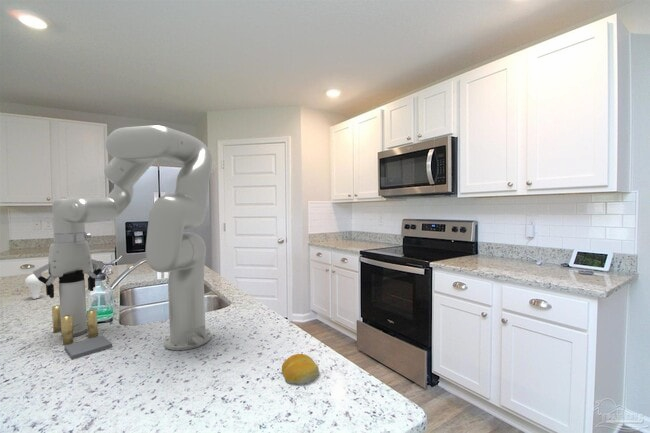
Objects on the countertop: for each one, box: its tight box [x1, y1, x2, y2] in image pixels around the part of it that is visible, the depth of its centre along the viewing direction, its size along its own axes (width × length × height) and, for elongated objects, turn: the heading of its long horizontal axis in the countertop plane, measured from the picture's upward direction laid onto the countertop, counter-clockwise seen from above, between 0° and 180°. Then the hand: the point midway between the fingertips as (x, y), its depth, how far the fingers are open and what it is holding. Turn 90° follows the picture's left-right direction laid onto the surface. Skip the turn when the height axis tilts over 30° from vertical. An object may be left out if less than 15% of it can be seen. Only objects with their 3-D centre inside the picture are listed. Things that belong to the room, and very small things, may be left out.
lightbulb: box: [24, 273, 44, 300], centre depth 136 cm, size 6×6×11 cm
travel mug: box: [58, 270, 88, 338], centre depth 98 cm, size 6×7×20 cm
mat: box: [63, 334, 113, 360], centre depth 88 cm, size 9×9×1 cm
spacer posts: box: [51, 304, 99, 346], centre depth 98 cm, size 16×8×8 cm, turn 49°
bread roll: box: [281, 353, 319, 385], centre depth 73 cm, size 8×9×4 cm
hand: (71, 293), depth 98 cm, fingers open, 9 cm apart
